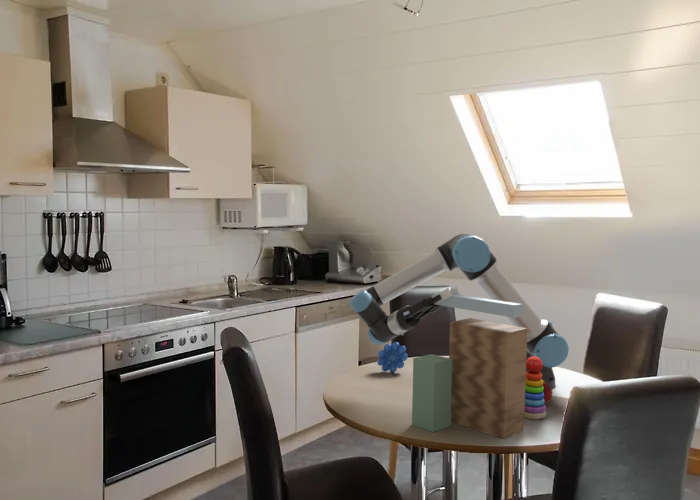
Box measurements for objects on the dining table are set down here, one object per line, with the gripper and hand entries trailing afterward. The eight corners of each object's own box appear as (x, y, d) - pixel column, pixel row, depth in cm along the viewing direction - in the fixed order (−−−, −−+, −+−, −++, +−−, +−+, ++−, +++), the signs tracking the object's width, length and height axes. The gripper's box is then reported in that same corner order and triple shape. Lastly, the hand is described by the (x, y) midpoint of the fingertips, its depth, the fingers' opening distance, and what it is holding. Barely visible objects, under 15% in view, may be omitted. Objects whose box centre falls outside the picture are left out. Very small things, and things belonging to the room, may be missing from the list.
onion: (552, 402, 212) (553, 379, 211) (551, 408, 207) (552, 383, 206) (533, 400, 214) (534, 377, 213) (532, 405, 208) (533, 381, 208)
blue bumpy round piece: (408, 370, 249) (408, 340, 248) (406, 375, 243) (407, 344, 242) (378, 368, 251) (379, 338, 250) (376, 373, 245) (376, 342, 244)
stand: (447, 420, 194) (450, 322, 192) (467, 412, 201) (470, 318, 198) (503, 438, 180) (507, 333, 177) (523, 430, 186) (527, 328, 184)
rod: (431, 303, 201) (431, 292, 201) (438, 302, 203) (438, 291, 203) (514, 317, 179) (514, 305, 179) (521, 316, 181) (521, 303, 181)
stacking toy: (515, 411, 203) (517, 353, 201) (540, 411, 203) (542, 353, 202) (524, 420, 195) (526, 359, 193) (550, 420, 195) (552, 359, 194)
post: (411, 424, 190) (413, 358, 188) (429, 418, 195) (431, 354, 194) (432, 432, 184) (434, 363, 182) (450, 425, 189) (452, 359, 188)
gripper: (424, 327, 217) (474, 300, 201) (390, 333, 206) (440, 305, 190) (416, 306, 219) (465, 278, 203) (382, 312, 208) (431, 282, 192)
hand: (453, 291), depth 196 cm, fingers closed on rod, 3 cm apart
